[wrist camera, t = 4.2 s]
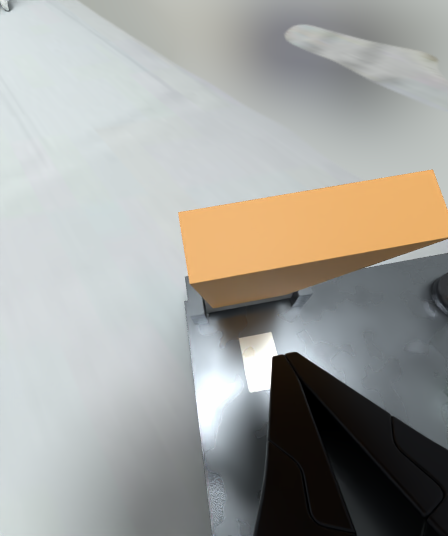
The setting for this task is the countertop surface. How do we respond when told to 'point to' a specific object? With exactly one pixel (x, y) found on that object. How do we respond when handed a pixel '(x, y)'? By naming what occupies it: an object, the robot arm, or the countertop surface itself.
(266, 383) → the panel
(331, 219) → the paddle
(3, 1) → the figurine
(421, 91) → the countertop surface
